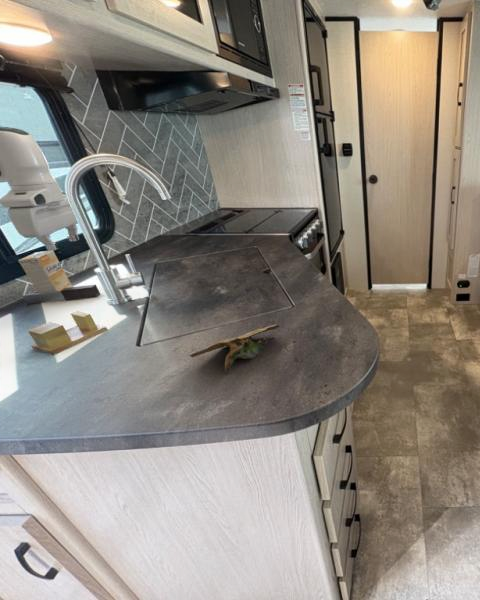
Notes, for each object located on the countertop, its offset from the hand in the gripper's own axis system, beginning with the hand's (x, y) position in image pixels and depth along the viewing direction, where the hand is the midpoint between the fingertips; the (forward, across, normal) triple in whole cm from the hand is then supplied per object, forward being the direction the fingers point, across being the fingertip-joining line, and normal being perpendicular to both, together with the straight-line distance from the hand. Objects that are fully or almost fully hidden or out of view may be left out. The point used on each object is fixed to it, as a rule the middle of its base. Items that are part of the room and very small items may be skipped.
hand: (64, 245), depth 90 cm
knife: (+17, 0, -6) cm, 18 cm away
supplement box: (+17, -6, -12) cm, 22 cm away
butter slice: (+15, +24, +12) cm, 31 cm away
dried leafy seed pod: (+16, +48, +50) cm, 71 cm away
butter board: (+17, +28, +9) cm, 33 cm away
